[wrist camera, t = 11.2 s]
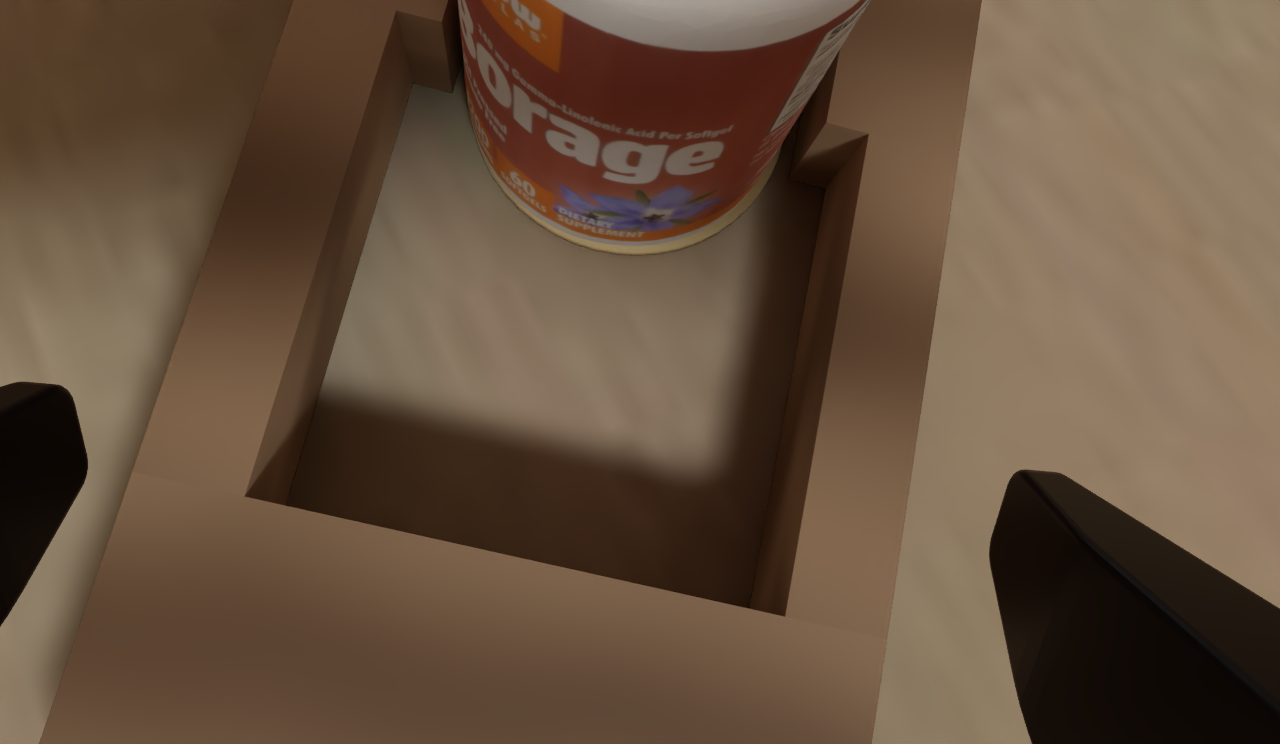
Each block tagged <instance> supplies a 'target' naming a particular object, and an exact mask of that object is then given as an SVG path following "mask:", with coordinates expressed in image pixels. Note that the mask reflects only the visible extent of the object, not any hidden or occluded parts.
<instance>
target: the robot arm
mask: <svg viewBox="0 0 1280 744" xmlns="http://www.w3.org/2000/svg"><path fill="white" fill-rule="evenodd" d="M87 470H88V458H87V453H86V449H85V444H84V440H83V436H82V432H81V428H80V423H79V419H78V415H77V411H76V407H75V403H74V400H73V397H72V395H71V394H70V392H69V391H68V390H67V389H65V388H64V387H62V386H60V385H55V384H45V383H34V382H16V383H12V384H8V385H5V386H2V387H0V626H1V625H2V623H3V622H4V620H5V619H6V617H7V616H8V614H9V613H10V611H11V610H12V608H13V606H14V605H15V603H16V601H17V600H18V598H19V596H20V595H21V593H22V592H23V590H24V588H25V586H26V585H27V583H28V581H29V579H30V578H31V576H32V574H33V572H34V571H35V569H36V567H37V565H38V563H39V562H40V560H41V558H42V556H43V555H44V553H45V551H46V549H47V548H48V546H49V544H50V542H51V541H52V539H53V537H54V535H55V534H56V532H57V530H58V528H59V527H60V525H61V523H62V521H63V520H64V518H65V516H66V514H67V513H68V511H69V509H70V507H71V506H72V504H73V502H74V500H75V499H76V497H77V495H78V493H79V491H80V490H81V488H82V486H83V484H84V482H85V479H86V475H87ZM989 559H990V567H991V572H992V577H993V581H994V586H995V591H996V596H997V601H998V606H999V611H1000V615H1001V620H1002V625H1003V630H1004V635H1005V640H1006V645H1007V649H1008V654H1009V659H1010V664H1011V669H1012V674H1013V679H1014V683H1015V687H1016V691H1017V696H1018V700H1019V704H1020V707H1021V711H1022V714H1023V717H1024V720H1025V724H1026V727H1027V730H1028V733H1029V736H1030V739H1031V742H1032V744H1280V609H1279V608H1278V607H1276V606H1275V605H1273V604H1271V603H1270V602H1268V601H1267V600H1265V599H1263V598H1262V597H1260V596H1259V595H1257V594H1255V593H1254V592H1252V591H1250V590H1249V589H1247V588H1246V587H1244V586H1242V585H1241V584H1239V583H1238V582H1236V581H1234V580H1233V579H1231V578H1230V577H1228V576H1226V575H1225V574H1223V573H1221V572H1220V571H1218V570H1217V569H1215V568H1213V567H1212V566H1210V565H1209V564H1207V563H1205V562H1204V561H1202V560H1201V559H1199V558H1197V557H1196V556H1194V555H1192V554H1191V553H1189V552H1188V551H1186V550H1184V549H1183V548H1181V547H1180V546H1178V545H1176V544H1175V543H1173V542H1171V541H1170V540H1168V539H1167V538H1165V537H1163V536H1162V535H1160V534H1159V533H1157V532H1155V531H1154V530H1152V529H1151V528H1149V527H1147V526H1146V525H1144V524H1142V523H1141V522H1139V521H1138V520H1136V519H1134V518H1133V517H1131V516H1130V515H1128V514H1126V513H1125V512H1123V511H1122V510H1120V509H1118V508H1117V507H1115V506H1113V505H1112V504H1110V503H1109V502H1107V501H1105V500H1104V499H1102V498H1101V497H1099V496H1097V495H1096V494H1094V493H1093V492H1091V491H1089V490H1088V489H1086V488H1084V487H1083V486H1081V485H1080V484H1078V483H1076V482H1075V481H1073V480H1072V479H1070V478H1068V477H1067V476H1065V475H1063V474H1061V473H1057V472H1047V471H1036V470H1019V471H1017V472H1016V473H1015V474H1013V476H1012V477H1011V479H1010V481H1009V483H1008V485H1007V489H1006V492H1005V495H1004V498H1003V501H1002V505H1001V508H1000V511H999V514H998V518H997V521H996V524H995V527H994V530H993V534H992V537H991V541H990V549H989Z"/></svg>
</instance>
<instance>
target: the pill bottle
mask: <svg viewBox="0 0 1280 744" xmlns="http://www.w3.org/2000/svg"><path fill="white" fill-rule="evenodd" d="M870 1H871V0H458V9H459V20H460V32H461V41H462V50H463V59H464V74H465V85H466V94H467V101H468V108H469V112H470V118H471V122H472V126H473V130H474V133H475V137H476V139H477V142H478V145H479V147H480V150H481V152H482V154H483V156H484V158H485V160H486V162H487V164H488V165H489V167H490V168H491V170H492V172H493V173H494V175H495V176H496V177H497V179H498V180H499V182H500V183H501V184H502V185H503V187H504V188H505V189H506V190H507V191H508V192H509V193H510V195H511V196H512V197H513V198H515V199H516V200H517V201H518V202H519V203H520V204H521V205H522V206H523V207H525V208H526V209H527V210H528V211H530V212H531V213H532V214H534V215H535V216H537V217H538V218H539V219H541V220H542V221H544V222H546V223H548V224H549V225H551V226H553V227H554V228H557V229H559V230H561V231H563V232H566V233H568V234H571V235H573V236H576V237H579V238H582V239H586V240H590V241H593V242H598V243H605V244H613V245H625V246H644V245H656V244H661V243H665V242H670V241H674V240H678V239H681V238H684V237H687V236H690V235H692V234H694V233H697V232H699V231H701V230H703V229H705V228H707V227H709V226H710V225H712V224H714V223H715V222H717V221H718V220H720V219H722V218H723V217H724V216H725V215H727V214H728V213H729V212H731V211H732V210H733V209H734V208H735V207H736V206H737V205H738V204H739V203H740V202H741V201H742V200H743V199H744V198H745V197H746V195H747V194H748V193H749V192H750V191H751V189H752V188H753V187H754V185H755V184H756V183H757V181H758V180H759V179H760V177H761V176H762V174H763V173H764V172H765V170H766V168H767V167H768V165H769V163H770V162H771V160H772V158H773V157H774V155H775V154H776V152H777V150H778V149H779V147H780V146H781V144H782V142H783V141H784V139H785V138H786V136H787V134H788V133H789V131H790V130H791V128H792V126H793V125H794V123H795V121H796V120H797V118H798V117H799V115H800V113H801V112H802V110H803V109H804V107H805V105H806V104H807V102H808V100H809V99H810V97H811V96H812V94H813V92H814V91H815V90H816V88H817V86H818V84H819V82H820V81H821V79H822V78H823V76H824V75H825V73H826V71H827V70H828V68H829V67H830V65H831V63H832V61H833V60H834V58H835V56H836V54H837V53H838V51H839V50H840V48H841V47H842V45H843V43H844V42H845V40H846V38H847V37H848V35H849V33H850V32H851V30H852V28H853V27H854V25H855V24H856V22H857V20H858V19H859V17H860V16H861V14H862V13H863V12H864V10H865V9H866V7H867V6H868V4H869V2H870Z"/></svg>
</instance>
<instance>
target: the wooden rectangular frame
mask: <svg viewBox="0 0 1280 744" xmlns="http://www.w3.org/2000/svg"><path fill="white" fill-rule="evenodd" d="M981 2H982V0H871V1H870V2H869V4H868V6H867V7H866V9H865V10H864V12H863V13H862V14H861V16H860V17H859V19H858V20H857V22H856V24H855V25H854V27H853V28H852V30H851V32H850V33H849V35H848V37H847V38H846V40H845V42H844V43H843V45H842V47H841V48H840V50H839V51H838V53H837V54H836V56H835V58H834V60H833V61H832V63H831V65H830V67H829V68H828V70H827V71H826V73H825V75H824V76H823V78H822V79H821V81H820V82H819V84H818V86H817V88H816V90H815V91H814V92H813V94H812V96H811V97H810V99H809V100H808V102H807V104H806V105H805V107H804V109H803V110H802V112H801V117H800V122H799V127H798V132H797V138H796V143H795V148H794V153H793V158H792V163H791V169H790V174H789V179H790V180H794V181H798V182H802V183H805V184H809V185H813V186H817V187H821V188H825V189H826V190H825V196H824V201H823V207H822V212H821V218H820V223H819V229H818V234H817V240H816V245H815V251H814V256H813V262H812V267H811V273H810V278H809V284H808V289H807V295H806V300H805V306H804V311H803V317H802V322H801V328H800V333H799V338H798V344H797V349H796V355H795V360H794V366H793V371H792V377H791V382H790V388H789V393H788V399H787V404H786V410H785V415H784V421H783V426H782V432H781V437H780V443H779V448H778V454H777V459H776V465H775V470H774V476H773V481H772V487H771V492H770V497H769V503H768V508H767V514H766V519H765V525H764V530H763V536H762V541H761V547H760V552H759V558H758V563H757V569H756V574H755V580H754V585H753V591H752V596H751V602H750V607H749V609H748V608H744V607H739V606H735V605H730V604H726V603H721V602H717V601H712V600H708V599H703V598H699V597H694V596H690V595H685V594H681V593H676V592H672V591H667V590H663V589H658V588H654V587H649V586H645V585H640V584H636V583H631V582H627V581H622V580H618V579H613V578H609V577H604V576H600V575H595V574H591V573H586V572H582V571H577V570H573V569H568V568H564V567H559V566H555V565H550V564H546V563H541V562H537V561H532V560H528V559H523V558H519V557H514V556H510V555H505V554H501V553H496V552H492V551H487V550H483V549H478V548H474V547H469V546H465V545H460V544H456V543H451V542H447V541H442V540H438V539H433V538H429V537H424V536H420V535H415V534H411V533H406V532H402V531H397V530H393V529H388V528H384V527H379V526H375V525H370V524H366V523H361V522H357V521H352V520H348V519H343V518H339V517H334V516H330V515H325V514H321V513H316V512H312V511H307V510H303V509H298V508H294V507H289V506H285V505H286V502H287V499H288V495H289V492H290V489H291V485H292V482H293V479H294V475H295V472H296V469H297V465H298V462H299V459H300V456H301V452H302V449H303V446H304V442H305V439H306V436H307V432H308V429H309V426H310V422H311V419H312V416H313V412H314V409H315V406H316V402H317V399H318V396H319V392H320V389H321V386H322V383H323V379H324V376H325V373H326V369H327V366H328V363H329V359H330V356H331V353H332V349H333V346H334V343H335V339H336V336H337V333H338V329H339V326H340V323H341V319H342V316H343V313H344V309H345V306H346V303H347V300H348V296H349V293H350V290H351V286H352V283H353V280H354V276H355V273H356V270H357V266H358V263H359V260H360V256H361V253H362V250H363V246H364V243H365V240H366V236H367V233H368V230H369V227H370V223H371V220H372V217H373V213H374V210H375V207H376V203H377V200H378V197H379V193H380V190H381V187H382V183H383V180H384V177H385V173H386V170H387V167H388V163H389V160H390V157H391V154H392V150H393V147H394V144H395V140H396V137H397V134H398V130H399V127H400V124H401V120H402V117H403V114H404V110H405V107H406V104H407V100H408V97H409V94H410V90H411V87H412V84H413V83H415V84H419V85H423V86H427V87H431V88H434V89H438V90H442V91H446V92H450V93H452V92H453V89H454V85H455V82H456V79H457V75H458V72H459V68H460V65H461V61H462V58H463V50H462V41H461V32H460V20H459V9H458V0H293V3H292V6H291V8H290V11H289V14H288V17H287V20H286V23H285V26H284V29H283V32H282V35H281V38H280V41H279V44H278V46H277V49H276V52H275V55H274V58H273V61H272V64H271V67H270V70H269V73H268V76H267V79H266V82H265V84H264V87H263V90H262V93H261V96H260V99H259V102H258V105H257V108H256V111H255V114H254V117H253V120H252V122H251V125H250V128H249V131H248V134H247V137H246V140H245V143H244V146H243V149H242V152H241V155H240V158H239V160H238V163H237V166H236V169H235V172H234V175H233V178H232V181H231V184H230V187H229V190H228V193H227V196H226V198H225V201H224V204H223V207H222V210H221V213H220V216H219V219H218V222H217V225H216V228H215V231H214V234H213V237H212V239H211V242H210V245H209V248H208V251H207V254H206V257H205V260H204V263H203V266H202V269H201V272H200V275H199V277H198V280H197V283H196V286H195V289H194V292H193V295H192V298H191V301H190V304H189V307H188V310H187V313H186V315H185V318H184V321H183V324H182V327H181V330H180V333H179V336H178V339H177V342H176V345H175V348H174V351H173V353H172V356H171V359H170V362H169V365H168V368H167V371H166V374H165V377H164V380H163V383H162V386H161V389H160V391H159V394H158V397H157V400H156V403H155V406H154V409H153V412H152V415H151V418H150V421H149V424H148V427H147V429H146V432H145V435H144V438H143V441H142V444H141V447H140V450H139V453H138V456H137V459H136V462H135V465H134V468H133V470H132V473H131V476H130V479H129V482H128V485H127V488H126V491H125V494H124V497H123V500H122V503H121V506H120V508H119V511H118V514H117V517H116V520H115V523H114V526H113V529H112V532H111V535H110V538H109V541H108V544H107V546H106V549H105V552H104V555H103V558H102V561H101V564H100V567H99V570H98V573H97V576H96V579H95V582H94V584H93V587H92V590H91V593H90V596H89V599H88V602H87V605H86V608H85V611H84V614H83V617H82V620H81V622H80V625H79V628H78V631H77V634H76V637H75V640H74V643H73V646H72V649H71V652H70V655H69V658H68V660H67V663H66V666H65V669H64V672H63V675H62V678H61V681H60V684H59V687H58V690H57V693H56V696H55V699H54V701H53V704H52V707H51V710H50V713H49V716H48V719H47V722H46V725H45V728H44V731H43V734H42V737H41V739H40V742H39V744H872V738H873V731H874V724H875V717H876V711H877V704H878V697H879V690H880V684H881V677H882V670H883V663H884V657H885V650H886V643H887V636H888V630H889V623H890V616H891V609H892V603H893V596H894V589H895V582H896V576H897V569H898V562H899V555H900V549H901V542H902V535H903V528H904V522H905V515H906V508H907V501H908V495H909V488H910V481H911V474H912V468H913V461H914V454H915V447H916V441H917V434H918V427H919V420H920V414H921V407H922V400H923V393H924V387H925V380H926V373H927V366H928V360H929V353H930V346H931V339H932V333H933V326H934V319H935V312H936V306H937V299H938V292H939V285H940V279H941V272H942V265H943V258H944V252H945V245H946V238H947V231H948V225H949V218H950V211H951V204H952V198H953V191H954V184H955V177H956V171H957V164H958V157H959V150H960V144H961V137H962V130H963V123H964V117H965V110H966V103H967V96H968V90H969V83H970V76H971V69H972V63H973V56H974V49H975V42H976V36H977V29H978V22H979V15H980V9H981ZM476 141H477V139H476ZM782 143H783V142H782ZM477 144H478V142H477ZM781 146H782V144H781ZM781 146H780V147H779V149H778V150H777V152H776V154H775V155H774V157H773V158H772V160H771V162H770V163H769V165H768V167H767V168H766V170H765V172H764V173H763V174H762V176H761V177H760V179H759V180H758V181H757V183H756V184H755V185H754V187H753V188H752V189H751V191H750V192H749V193H748V194H747V195H746V197H745V198H744V199H743V200H742V201H741V202H740V203H739V204H738V205H737V206H736V207H735V208H734V209H733V210H732V211H731V212H729V213H728V214H727V215H725V216H724V217H723V218H722V219H720V220H718V221H717V222H715V223H714V224H712V225H710V226H709V227H707V228H705V229H703V230H701V231H699V232H697V233H694V234H692V235H690V236H687V237H684V238H681V239H678V240H674V241H670V242H665V243H661V244H656V245H644V246H625V245H613V244H605V243H598V242H593V241H590V240H586V239H582V238H579V237H576V236H573V235H571V234H568V233H566V232H563V231H561V230H559V229H557V228H554V227H553V226H551V225H549V224H548V223H546V222H544V221H542V220H541V219H539V218H538V217H537V216H535V215H534V214H532V213H531V212H530V211H528V210H527V209H526V208H525V207H523V206H522V205H521V204H520V203H519V202H518V201H517V200H516V199H515V198H513V197H512V196H511V195H510V193H509V192H508V191H507V190H506V189H505V188H504V187H503V185H502V184H501V183H500V182H499V180H498V179H497V177H496V176H495V175H494V173H493V172H492V170H491V168H490V167H489V165H488V164H487V162H486V160H485V158H484V156H483V154H482V152H481V150H480V152H481V155H482V157H483V160H484V162H485V164H486V166H487V167H488V169H489V171H490V173H491V175H492V177H493V178H494V180H495V181H496V183H497V184H498V185H499V187H500V188H501V189H502V191H503V192H504V193H505V195H506V196H507V197H508V198H509V199H510V200H511V201H512V202H513V203H514V204H515V205H516V206H517V207H518V209H519V210H520V211H522V212H523V213H524V214H525V215H527V216H528V217H529V218H530V219H532V220H533V221H534V222H535V223H537V224H538V225H540V226H541V227H543V228H544V229H546V230H548V231H549V232H551V233H553V234H554V235H556V236H558V237H560V238H563V239H565V240H567V241H569V242H571V243H574V244H576V245H579V246H583V247H586V248H589V249H592V250H595V251H601V252H606V253H612V254H620V255H651V254H661V253H666V252H671V251H676V250H680V249H683V248H686V247H689V246H692V245H694V244H697V243H699V242H702V241H704V240H706V239H708V238H710V237H712V236H714V235H716V234H717V233H719V232H720V231H721V230H723V229H724V228H726V227H727V226H729V225H730V224H732V223H733V222H734V221H735V220H736V219H737V218H738V217H740V216H741V215H742V214H743V213H744V212H745V211H746V210H747V209H748V208H749V206H750V205H751V204H752V203H753V202H754V200H755V199H756V198H757V197H758V196H759V194H760V192H761V191H762V189H763V188H764V186H765V184H766V183H767V181H768V179H769V178H770V176H771V174H772V172H773V169H774V167H775V165H776V162H777V160H778V157H779V154H780V150H781ZM478 147H479V145H478ZM479 149H480V147H479Z"/></svg>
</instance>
